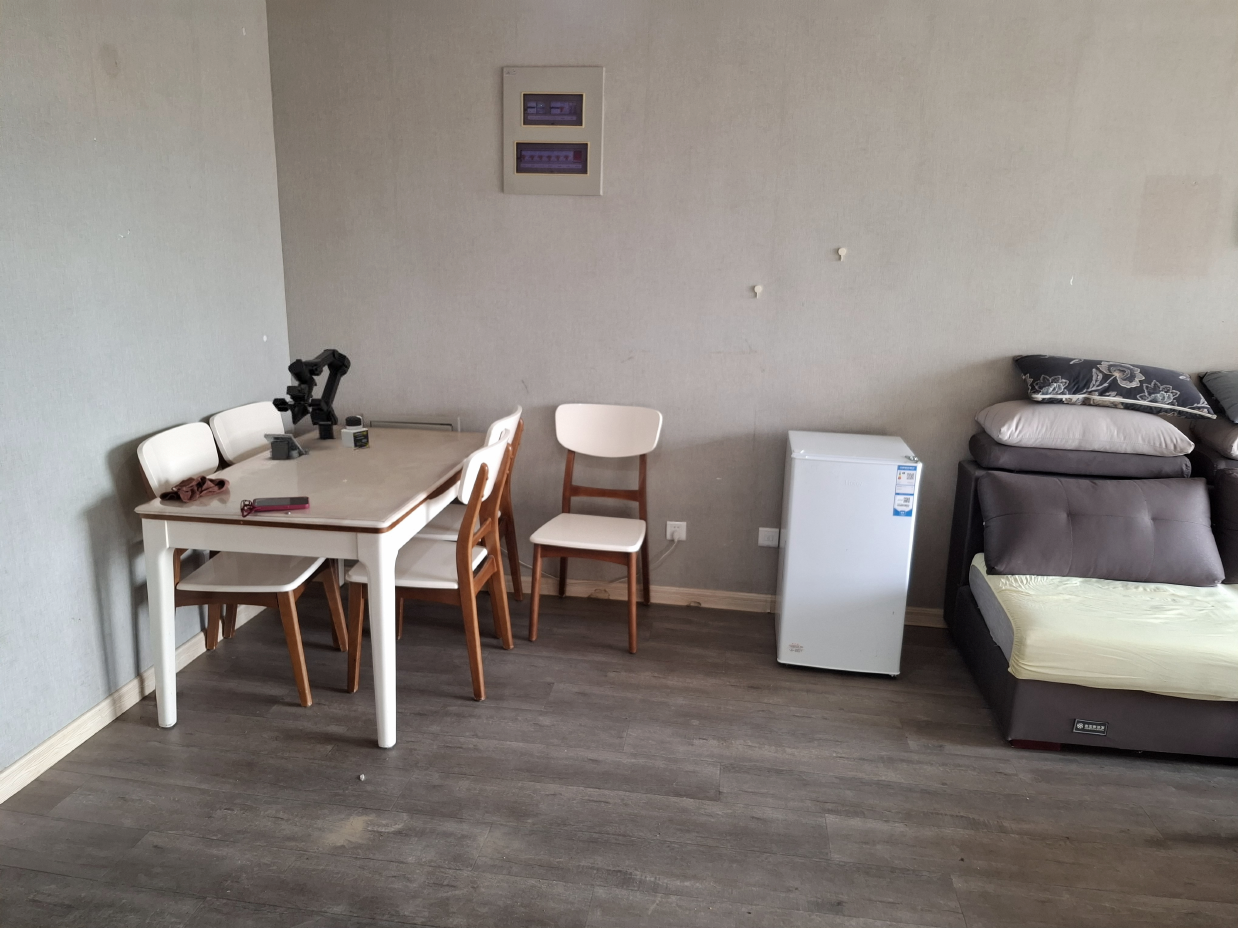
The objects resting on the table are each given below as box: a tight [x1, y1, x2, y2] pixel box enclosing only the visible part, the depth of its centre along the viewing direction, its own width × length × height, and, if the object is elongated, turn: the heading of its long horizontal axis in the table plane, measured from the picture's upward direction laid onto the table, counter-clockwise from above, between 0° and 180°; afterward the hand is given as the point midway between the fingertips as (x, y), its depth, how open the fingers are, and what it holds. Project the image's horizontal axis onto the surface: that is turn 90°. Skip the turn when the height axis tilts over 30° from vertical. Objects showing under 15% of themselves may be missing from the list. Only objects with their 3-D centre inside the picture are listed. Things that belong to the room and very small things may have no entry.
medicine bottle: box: [340, 415, 370, 451], centre depth 316 cm, size 7×7×12 cm
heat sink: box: [269, 441, 310, 461], centre depth 297 cm, size 10×13×7 cm
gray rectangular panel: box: [263, 433, 305, 455], centre depth 297 cm, size 12×10×1 cm
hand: (293, 424), depth 304 cm, fingers closed
